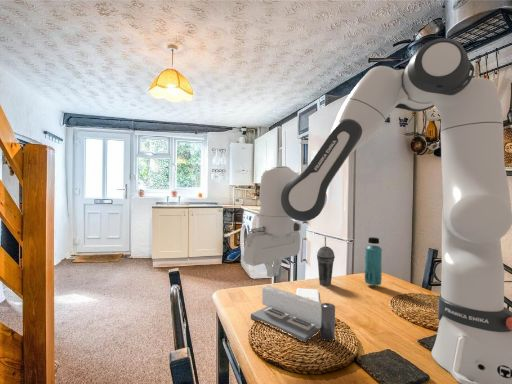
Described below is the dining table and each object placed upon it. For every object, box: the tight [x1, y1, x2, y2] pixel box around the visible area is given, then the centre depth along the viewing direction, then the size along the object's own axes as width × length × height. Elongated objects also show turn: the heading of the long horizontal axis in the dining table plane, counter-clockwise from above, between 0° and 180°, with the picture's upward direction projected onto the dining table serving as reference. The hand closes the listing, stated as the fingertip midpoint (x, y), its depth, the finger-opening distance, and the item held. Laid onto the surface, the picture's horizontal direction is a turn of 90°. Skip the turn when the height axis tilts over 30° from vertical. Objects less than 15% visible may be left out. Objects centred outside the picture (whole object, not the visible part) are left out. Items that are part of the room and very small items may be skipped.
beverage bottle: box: [364, 236, 383, 286], centre depth 112 cm, size 6×7×20 cm
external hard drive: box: [295, 287, 320, 302], centre depth 99 cm, size 2×8×12 cm
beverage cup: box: [316, 235, 336, 287], centre depth 114 cm, size 7×7×20 cm
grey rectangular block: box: [261, 285, 336, 341], centre depth 78 cm, size 23×4×8 cm, turn 46°
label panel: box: [250, 306, 320, 343], centre depth 81 cm, size 19×16×2 cm
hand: (272, 275), depth 76 cm, fingers closed
